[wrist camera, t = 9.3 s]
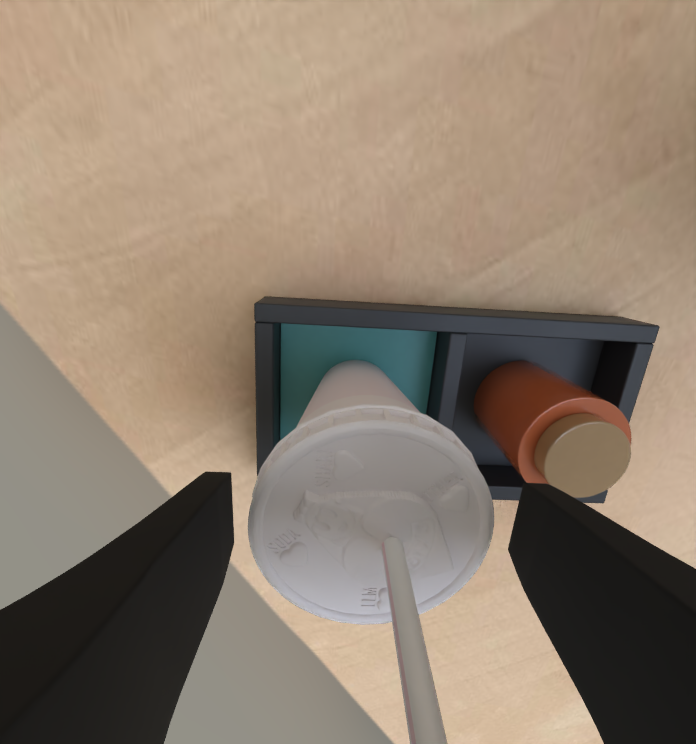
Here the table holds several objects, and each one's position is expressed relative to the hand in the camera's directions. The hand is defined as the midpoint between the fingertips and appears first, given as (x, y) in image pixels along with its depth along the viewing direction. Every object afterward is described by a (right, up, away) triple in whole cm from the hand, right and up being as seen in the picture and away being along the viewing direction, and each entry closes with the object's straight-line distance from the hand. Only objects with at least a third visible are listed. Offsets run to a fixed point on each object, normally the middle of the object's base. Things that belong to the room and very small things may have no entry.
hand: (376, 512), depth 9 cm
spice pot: (+8, +2, +10) cm, 13 cm away
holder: (+4, +2, +10) cm, 11 cm away
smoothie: (0, +2, +10) cm, 10 cm away
